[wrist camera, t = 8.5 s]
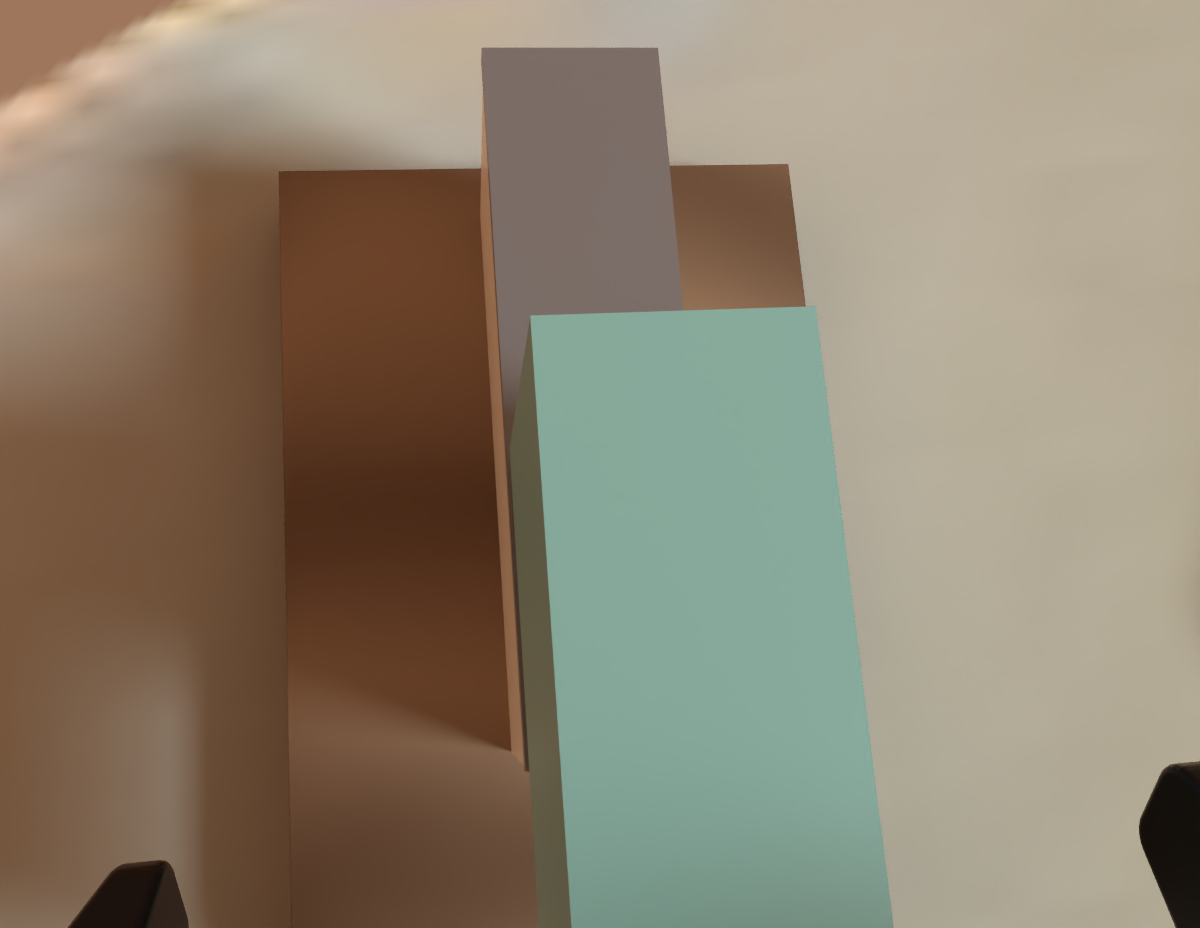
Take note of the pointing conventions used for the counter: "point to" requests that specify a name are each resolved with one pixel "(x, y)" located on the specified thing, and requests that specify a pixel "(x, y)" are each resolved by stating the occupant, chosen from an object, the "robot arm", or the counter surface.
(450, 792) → the brown flat block
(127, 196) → the counter surface
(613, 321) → the mint green pillar
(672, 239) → the beige rectangular block
